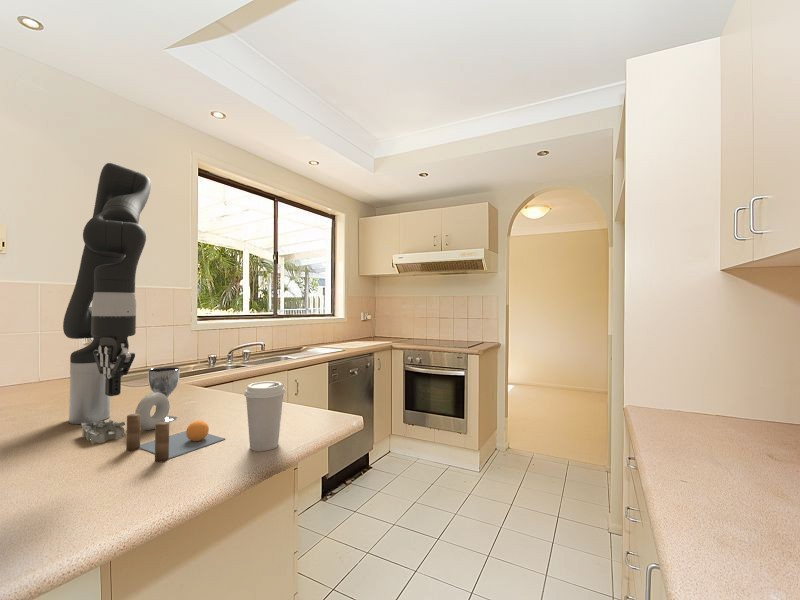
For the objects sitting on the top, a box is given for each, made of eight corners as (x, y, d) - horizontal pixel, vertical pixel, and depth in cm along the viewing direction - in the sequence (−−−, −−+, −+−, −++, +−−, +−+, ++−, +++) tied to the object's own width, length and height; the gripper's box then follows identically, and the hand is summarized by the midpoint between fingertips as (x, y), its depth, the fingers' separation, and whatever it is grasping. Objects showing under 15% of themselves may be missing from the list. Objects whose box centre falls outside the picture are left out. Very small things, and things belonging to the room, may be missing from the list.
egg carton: (126, 438, 95) (127, 422, 95) (89, 447, 90) (89, 430, 90) (115, 429, 102) (115, 414, 102) (79, 436, 96) (79, 420, 96)
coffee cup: (260, 457, 84) (261, 391, 84) (234, 448, 89) (235, 385, 89) (292, 444, 92) (293, 383, 92) (267, 436, 97) (268, 379, 97)
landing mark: (135, 446, 89) (135, 445, 89) (192, 429, 101) (192, 429, 101) (168, 459, 82) (168, 458, 82) (225, 439, 95) (225, 438, 95)
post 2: (152, 460, 81) (152, 424, 81) (164, 456, 84) (165, 421, 84) (158, 463, 80) (159, 426, 80) (171, 459, 82) (171, 423, 82)
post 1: (124, 449, 87) (124, 415, 87) (136, 446, 90) (136, 412, 90) (129, 451, 86) (130, 417, 86) (142, 448, 88) (142, 414, 88)
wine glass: (140, 421, 108) (141, 370, 108) (166, 414, 115) (167, 366, 115) (159, 425, 105) (160, 372, 105) (184, 417, 112) (185, 367, 112)
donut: (142, 435, 97) (143, 397, 97) (131, 434, 97) (131, 396, 97) (172, 423, 106) (173, 388, 107) (162, 422, 107) (162, 388, 107)
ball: (184, 419, 93) (204, 416, 97) (180, 439, 93) (200, 435, 97) (194, 425, 90) (214, 422, 94) (190, 445, 90) (210, 442, 94)
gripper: (150, 314, 79) (148, 395, 79) (118, 313, 86) (117, 388, 85) (109, 315, 73) (107, 403, 72) (78, 313, 79) (76, 394, 79)
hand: (112, 395), depth 79 cm, fingers closed
